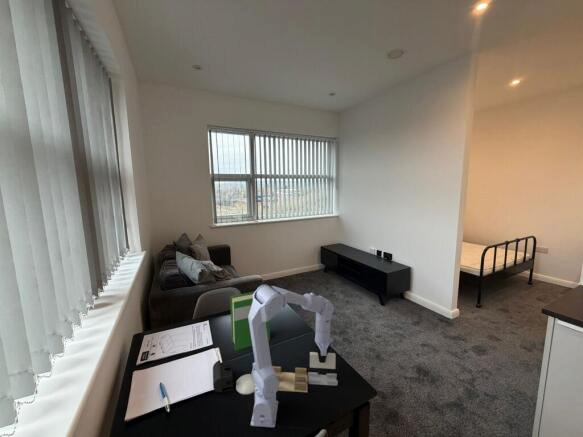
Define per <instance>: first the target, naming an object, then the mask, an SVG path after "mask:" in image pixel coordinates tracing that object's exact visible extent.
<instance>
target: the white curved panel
mask: <svg viewBox="0 0 583 437" xmlns="http://www.w3.org/2000/svg"><path fill="white" fill-rule="evenodd" d="M309 368H312V369H313V368H314V369H329V370H330V369H331V370H336V353H335V352H329V353H328V354H327V357H326V361H325V363H320V362H319V357H318V353H317V351H316V352H315V351H310V352H309Z"/></svg>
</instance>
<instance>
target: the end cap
mask: <svg viewBox="0 0 583 437" xmlns="http://www.w3.org/2000/svg"><path fill="white" fill-rule="evenodd" d="M231 366H232V361H231V360H226V361H222V362H221V359H219V360H217V361H215V363H214V364H213V366H212V387H213V390H214V391H215V392H217V393H220V394H221V393H227V392H230V391H232V390H233V389H234V387H233V386H234V383H233V382H234V381H233V380H234V379H233V377H234V376H233V370H232V369H231V368H232V367H231Z"/></svg>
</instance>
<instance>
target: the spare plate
mask: <svg viewBox="0 0 583 437" xmlns="http://www.w3.org/2000/svg"><path fill="white" fill-rule="evenodd" d="M235 390H236V391H237V392H238V393H239V394H240V395H251V394H253V393H255V380H254V379H253V378H252V373H248V374H247V373H246V374H244V375H241V376H240V377H239V378H238V379H237V380H236V382H235Z"/></svg>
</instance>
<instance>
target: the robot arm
mask: <svg viewBox="0 0 583 437" xmlns="http://www.w3.org/2000/svg"><path fill="white" fill-rule="evenodd" d="M253 292H254V294H253V302H252V306H251V309H250V312H249V316H248V320H249V326H250V333H251V339H252V346H251V347H252V352H253V356H254V357H253V358H254V362H252V371H251V374H252V378H253V379H254V380H255V392H254V406H253V411H252V416H251V421H250V426H251V427H260V428H261V427H263V428H264V427H265V428H275V427H276V421H277V412H278V405H279V401H278V400H277V392H279V391H278V389H279V385H280V383H279V380H278V379H277V378H276V374H275V371H274V369H273V367H272V366H273V365H272V364H273V363H272V358H271V353H270V345H269V341H268V336H267V329H266V322H268V321H269V320H270V321H271V319H273V317H275V315H277V314H278V313H279V312H280V311H281V310H282V309H283V308H286V306H287V304H294V305H299V306H301V309H303V310H305V311H309V312H313V313H315V330H314V331H315V337H314V342H315V347H314V348H315V350H316V352H317V353H318V357H319V362H320V363H325V361H326V357H327V354H328V353H330V351H331V346H330V343H333V342H334V339H333V337H331V319H332V317H333V313H334V311H335V306H334V304H333V303H332V301H331V300H329V299H327V298H325V297H323V296H322V295H316V294H315V293H314V292H310V293H304V294H303V295H302V294H300V293H296V292H294V291H290V290H288V289H285V288H282V287H278V286H276V285H271V286H270V285H268V284H261V285H260V286H258V287H257V289H256V290H255V291H253Z"/></svg>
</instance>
